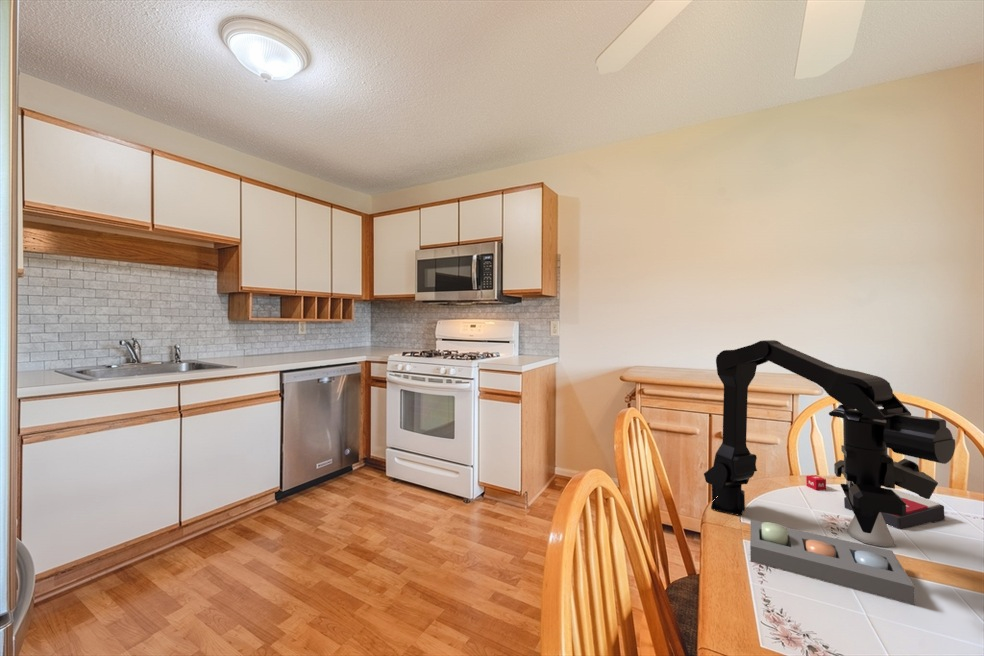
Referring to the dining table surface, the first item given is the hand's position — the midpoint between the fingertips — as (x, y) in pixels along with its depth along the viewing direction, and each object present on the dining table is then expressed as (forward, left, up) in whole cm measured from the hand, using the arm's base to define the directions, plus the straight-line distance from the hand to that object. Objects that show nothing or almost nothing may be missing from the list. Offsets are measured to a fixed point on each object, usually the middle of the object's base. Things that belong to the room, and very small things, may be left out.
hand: (866, 531), depth 70 cm
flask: (+4, +17, -8) cm, 19 cm away
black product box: (+11, +34, -8) cm, 37 cm away
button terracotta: (-6, 0, -8) cm, 10 cm away
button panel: (-6, 0, -8) cm, 10 cm away
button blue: (+1, 0, -8) cm, 8 cm away
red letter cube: (-2, +44, -8) cm, 45 cm away
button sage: (-13, 0, -6) cm, 15 cm away
